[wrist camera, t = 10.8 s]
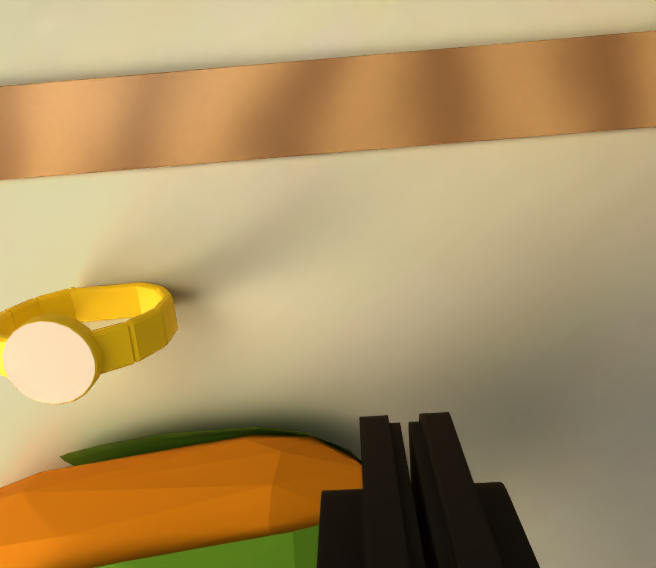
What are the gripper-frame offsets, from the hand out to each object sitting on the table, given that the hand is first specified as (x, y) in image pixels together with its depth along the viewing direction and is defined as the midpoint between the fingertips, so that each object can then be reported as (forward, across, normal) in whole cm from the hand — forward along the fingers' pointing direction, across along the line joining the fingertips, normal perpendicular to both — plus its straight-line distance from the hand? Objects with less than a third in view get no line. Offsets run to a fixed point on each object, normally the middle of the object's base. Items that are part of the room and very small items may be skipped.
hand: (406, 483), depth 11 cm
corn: (+12, +10, +9) cm, 18 cm away
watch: (+12, +10, 0) cm, 16 cm away
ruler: (+12, +2, -7) cm, 14 cm away
